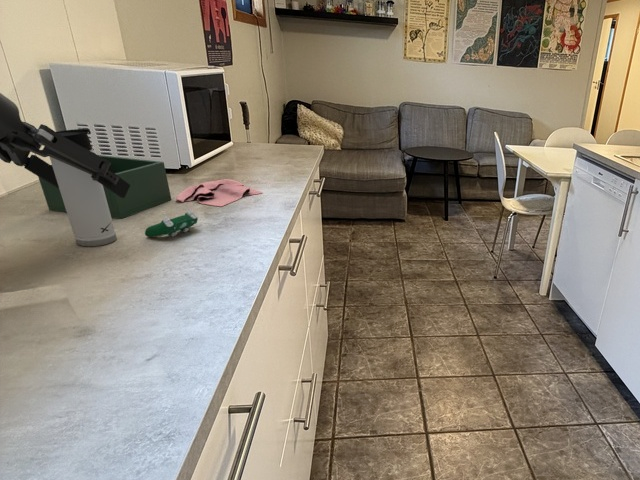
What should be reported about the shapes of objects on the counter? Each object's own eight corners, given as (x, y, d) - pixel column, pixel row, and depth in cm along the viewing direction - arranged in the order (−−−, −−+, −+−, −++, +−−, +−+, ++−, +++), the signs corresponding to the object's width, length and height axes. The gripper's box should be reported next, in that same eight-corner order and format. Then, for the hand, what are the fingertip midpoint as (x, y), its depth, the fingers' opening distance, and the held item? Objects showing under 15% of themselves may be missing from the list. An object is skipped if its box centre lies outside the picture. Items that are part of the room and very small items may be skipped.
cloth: (237, 180, 134) (236, 172, 132) (274, 198, 120) (273, 189, 119) (158, 190, 120) (155, 180, 119) (189, 211, 107) (187, 201, 106)
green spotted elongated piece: (154, 248, 92) (167, 231, 89) (141, 232, 91) (153, 215, 88) (193, 234, 99) (205, 218, 96) (180, 220, 99) (193, 203, 96)
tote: (49, 210, 102) (35, 168, 97) (108, 192, 116) (97, 154, 112) (120, 219, 100) (109, 176, 96) (171, 199, 114) (163, 161, 110)
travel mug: (120, 243, 88) (90, 131, 79) (76, 248, 85) (39, 132, 75) (118, 233, 93) (89, 126, 83) (76, 237, 89) (42, 126, 80)
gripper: (-114, 117, 67) (28, 196, 87) (29, 135, 63) (144, 213, 83) (-86, 75, 69) (47, 161, 89) (55, 90, 65) (160, 177, 85)
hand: (94, 186), depth 86 cm, fingers open, 13 cm apart
